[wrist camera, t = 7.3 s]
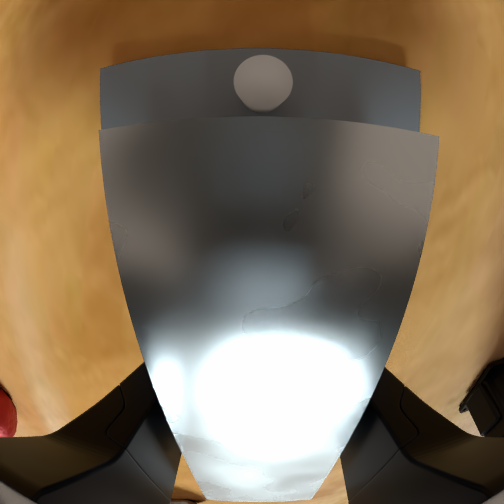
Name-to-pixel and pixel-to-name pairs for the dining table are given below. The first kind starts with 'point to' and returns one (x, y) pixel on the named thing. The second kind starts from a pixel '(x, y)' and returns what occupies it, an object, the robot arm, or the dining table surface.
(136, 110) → the grey pegged platform
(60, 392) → the dining table surface
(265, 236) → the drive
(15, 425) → the red tomato
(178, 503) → the tin
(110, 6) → the dining table surface
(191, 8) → the dining table surface
